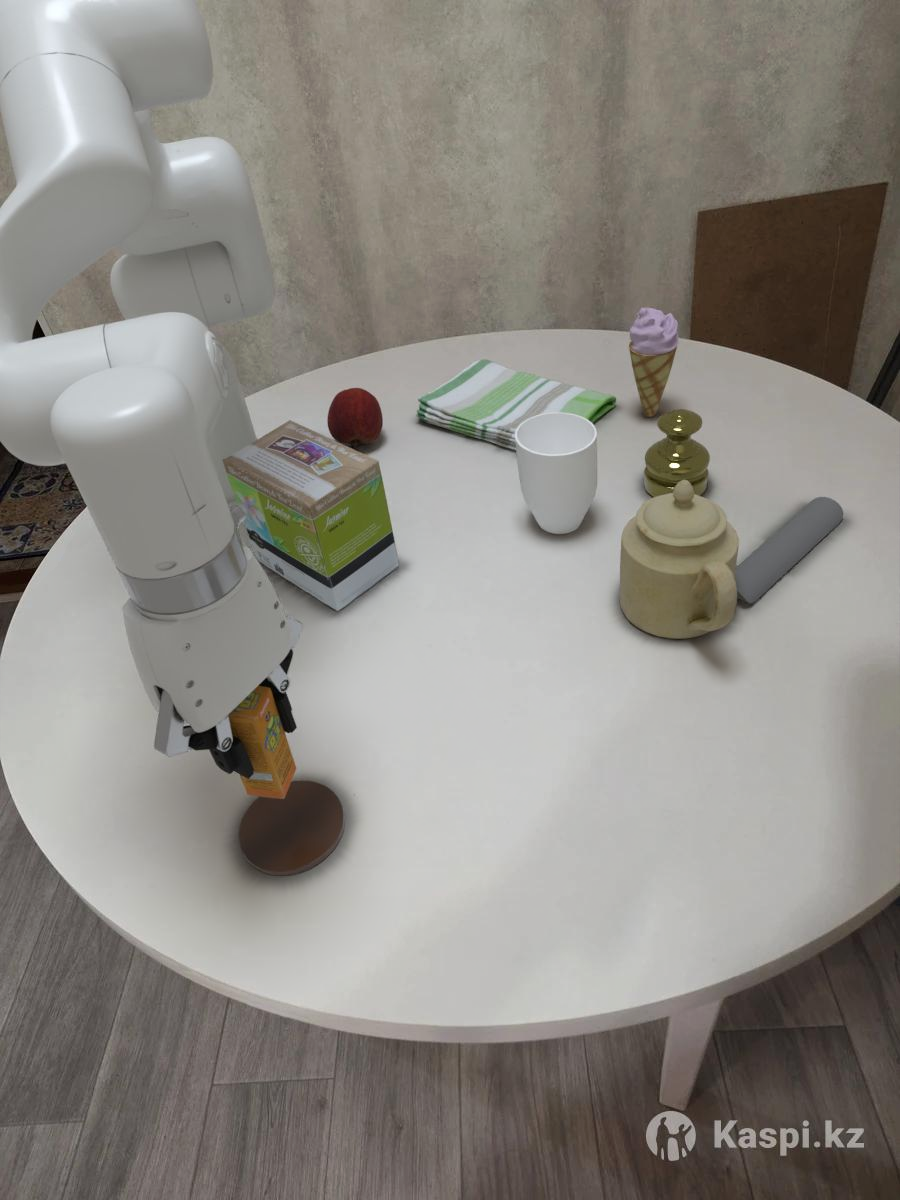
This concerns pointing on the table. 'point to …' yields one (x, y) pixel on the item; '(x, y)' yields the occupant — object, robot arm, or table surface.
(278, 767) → the supplement box
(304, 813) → the coaster
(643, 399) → the ice cream cone
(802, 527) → the gray half cylinder
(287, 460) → the tea box
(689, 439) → the brass weight
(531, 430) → the mug
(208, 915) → the table surface
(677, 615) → the sugar bowl
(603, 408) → the dish towel
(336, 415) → the apple
